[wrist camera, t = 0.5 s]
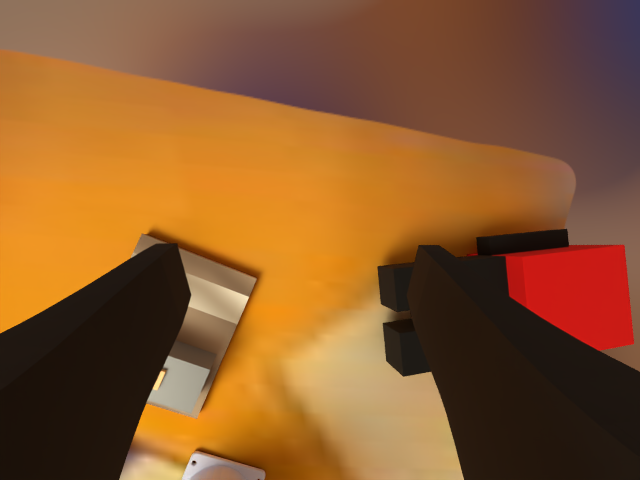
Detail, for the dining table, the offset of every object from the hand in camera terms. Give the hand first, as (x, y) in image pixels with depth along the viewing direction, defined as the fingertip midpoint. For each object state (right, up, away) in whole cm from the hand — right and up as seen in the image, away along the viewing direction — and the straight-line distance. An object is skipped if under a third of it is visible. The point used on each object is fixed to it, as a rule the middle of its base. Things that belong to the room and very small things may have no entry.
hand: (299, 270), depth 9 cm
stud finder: (-13, -11, +21) cm, 27 cm away
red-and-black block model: (+19, -6, +29) cm, 35 cm away
